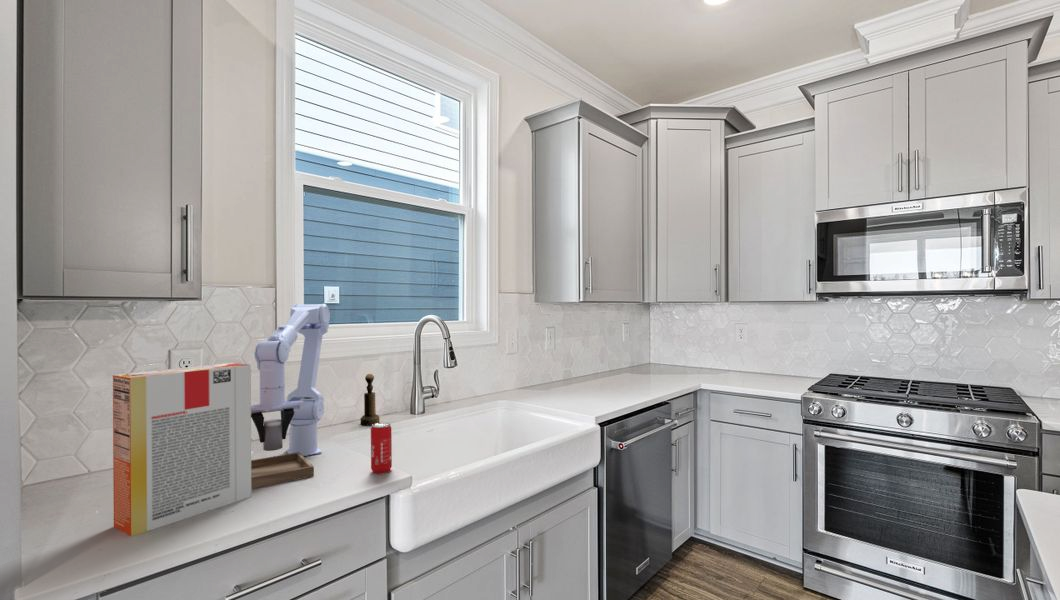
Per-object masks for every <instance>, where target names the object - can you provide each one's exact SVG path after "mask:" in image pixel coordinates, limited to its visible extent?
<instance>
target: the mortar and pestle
mask: <svg viewBox="0 0 1060 600" xmlns="http://www.w3.org/2000/svg"><path fill="white" fill-rule="evenodd" d="M364 379H365V381H366V383H367V386H366V391H367V392H364V393H363V395H364V396H363V401H364V402H363V403H364V409H363V411H364V415H362V416H360V425H361V426H365V425H366V426H372V424H377V423H381V422H380V416H379V414H377V413H376V392H374V391H373V388H374V386H373V381H374V379H375V376H374V375H373V374H372V373H368V374H365V377H364Z"/></svg>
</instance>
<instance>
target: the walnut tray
mask: <svg viewBox="0 0 1060 600" xmlns="http://www.w3.org/2000/svg"><path fill="white" fill-rule="evenodd" d="M314 472H315V468H314V465H313V464H312V463H311V462H310V461H309V460H308V459H307V458H305V456H302V455H301V454H300V453H299V452H297V453H291V454H288V453H287V454H285V453H284V454H281V455H275V456H274V455H273V456H269V457H263V458H258V459H257V458H256V459H251V490H253V489H256V488H261V487H266V486H272V485H275V484H281V483H286V481H287V482H291V480H292V481H296V479H297V480H302V479H305V478H311V476H312V477H314V476H315V475H314V474H315V473H314Z"/></svg>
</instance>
